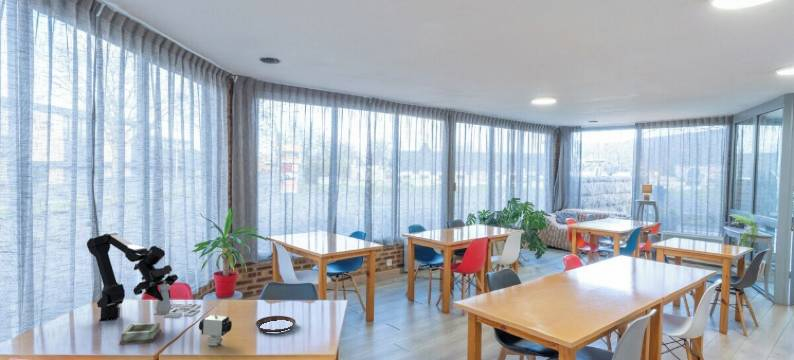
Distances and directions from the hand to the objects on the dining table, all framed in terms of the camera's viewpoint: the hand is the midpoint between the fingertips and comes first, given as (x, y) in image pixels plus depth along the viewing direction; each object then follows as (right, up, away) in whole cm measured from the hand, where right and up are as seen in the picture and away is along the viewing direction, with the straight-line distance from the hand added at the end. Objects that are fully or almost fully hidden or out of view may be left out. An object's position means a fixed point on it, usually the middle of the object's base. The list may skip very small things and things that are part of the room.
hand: (166, 299), depth 178 cm
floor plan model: (-4, -14, +24) cm, 28 cm away
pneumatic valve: (+27, -15, -13) cm, 34 cm away
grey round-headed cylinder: (-2, -7, +1) cm, 7 cm away
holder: (-5, -13, -9) cm, 17 cm away
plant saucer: (+46, -16, +8) cm, 49 cm away
